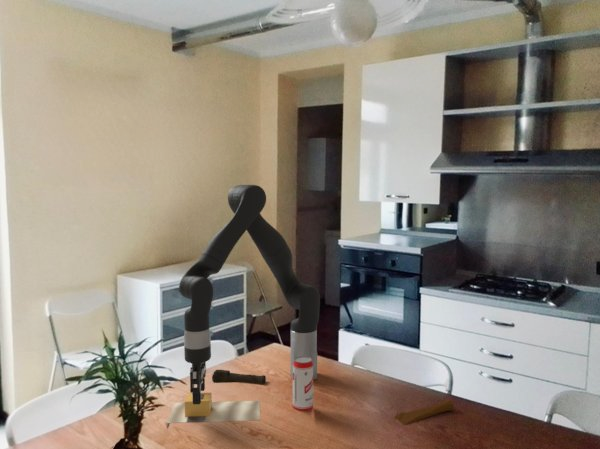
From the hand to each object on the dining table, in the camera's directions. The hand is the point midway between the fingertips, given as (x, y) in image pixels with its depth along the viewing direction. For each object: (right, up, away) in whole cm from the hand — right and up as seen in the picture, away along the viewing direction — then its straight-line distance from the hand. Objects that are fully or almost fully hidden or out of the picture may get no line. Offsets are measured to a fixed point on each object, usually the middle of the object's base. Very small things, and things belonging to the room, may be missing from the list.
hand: (199, 396), depth 139 cm
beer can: (+31, -6, +4) cm, 31 cm away
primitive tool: (+67, -7, +2) cm, 67 cm away
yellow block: (0, -5, 0) cm, 5 cm away
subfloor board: (+5, -6, +1) cm, 8 cm away
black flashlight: (+8, -4, +22) cm, 24 cm away
